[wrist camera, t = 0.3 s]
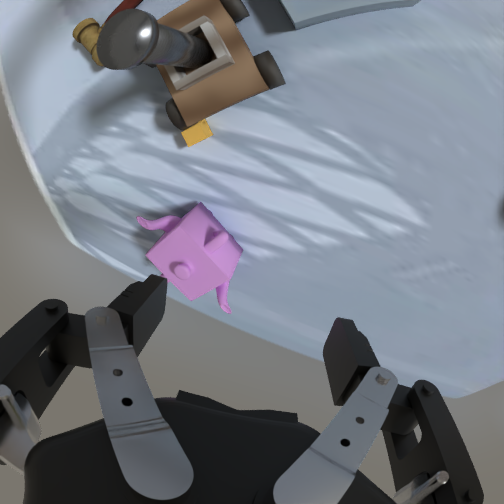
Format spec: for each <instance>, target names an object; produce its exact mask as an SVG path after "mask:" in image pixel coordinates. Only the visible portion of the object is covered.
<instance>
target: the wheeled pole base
mask: <svg viewBox="0 0 504 504" xmlns="http://www.w3.org/2000/svg"><path fill="white" fill-rule="evenodd" d="M248 16H250V15H249V13H248V11H247V9H246V7H245V6H244V4H243V3H242V1H241V0H189V1H188V2H186V3H184V4H182V5H181V6H179V7H177V8H176V9H174V10H173V11H171V12H169V13H168V14H166V15H165V16H163V17H162V18H160V19H159V20H157V22H158V23H159V24H162V25H165V26H168V27H171V28H174V29H177V30H180V31H182V32H185V33H187V34H190V35H193V36H195V37H198V38H200V39H202V40H205V41H207V42H209V43H210V45H211V47H212V49H213V52H214V53H213V58H212V60H211V61H210V63H208V64H206V65H204V66H202V67H200V68H199V69H192V68H185V67H177V66H168V65H158V64H146V65H148V66H150V67H156V66H157V67H158V69H159V71H160V73H161V75H162V77H163V79H164V81H165V83H166V85H167V87H168V89H169V91H170V93H171V95H172V97H173V98H172V99H171V100H169V101H167V103H166V112H167V114H168V117H169V119H170V120H171V122H172V123H173V124H174V125H175V126H176V127H177V128H178V129H180V130H186V129H187V128H189V127H191V126H193V125H195V124H197V123H198V122H199V121H201V120H203V119H205V118H207V117H209V116H211V115H213V114H215V113H217V112H219V111H221V110H223V109H226V108H228V107H230V106H232V105H234V104H236V103H239V102H241V101H243V100H245V99H248V98H250V97H252V96H255V95H257V94H259V93H262V92H264V91H267V90H269V89H270V90H271V89H273V88H276V87H278V86H281V85H284V84H285V81H284V78H283V76H282V74H281V72H280V69H279V67H278V66H277V64H276V62H275V60H274V58H273V56H272V55H271V53H270V52H269V50H268V51H265V52H263V53H261V54H258V55H256V56H252V54H251V52H250V50H249V48H248V46H247V44H246V42H245V41H244V39H243V37H242V35H241V33H240V32H239V30H238V28H237V26H236V25H235V23H234V21H235V22H236V21H238V20H241V19H243V18H245V17H248ZM233 20H234V21H233Z"/></svg>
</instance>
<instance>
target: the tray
mask: <svg viewBox="0 0 504 504" xmlns="http://www.w3.org/2000/svg"><path fill="white" fill-rule="evenodd" d="M419 1H421V0H279V2H280V3H281V5H282V7H283V8H284V10H285V11H286V13H287V15H288V17H289V18H290V20H291V22H292V24H293V25H294V27H295V29H296V30H299V29H302V28H305V27H308V26H311V25H315V24H318V23H322V22H325V21H329V20H333V19H337V18H341V17H346V16H350V15H355V14H360V13H365V12H371V11H377V10H384V9H392V8H400V7H411V6H414V5H415V4H417V3H418V2H419Z"/></svg>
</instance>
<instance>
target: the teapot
mask: <svg viewBox="0 0 504 504" xmlns="http://www.w3.org/2000/svg"><path fill="white" fill-rule="evenodd" d="M136 218H137V221H138V222H139V224H140V225H141V226H143V227H144V228H146V229H148V230H157V229H161V230H163V231H165V233H164V234H163V235H162V237H161V238H160V239H159V240H158V241H157V242H156V243H155V244H154V245H153V247H152V248H151V249H150V250H149V251H148V252H147V253H146V254H145V255H146V256H147V257H148V259H149V260H150V261H151V262H152V263H153V264H154V265H155V266H156V267H157V268H158V269H159V270H160V271H161V272H162V274H161V277H164V278H167V283H168V282H170V281H171V282H172V283H173V284H174V285H175V286H176V287H177V288H178V289H179V290H180V291H181V292H182V293H183V294H184V295H185V296H186V297H187V298H188V299H189V300H190V301H192V300H194V299H196V298H198V297H200V296H201V295H203V294H205V293H207V292H209V291H210V290H212V289H214V288H216V291H217V299H218V302H219V305H220V307H221V308H222V309H223V310H224V311H225V312H226V313H228V314H231V309H230V307H229V305H228V302H227V291H228V287H229V280H230V279H231V277H232V275H233V273H234V270H235V268H236V266H237V263H238V261H239V258H240V256H241V254H242V251H243V249H242V248H241V247H240V245H239V244H238V243H237V242H236V241H235V240H234V238H233V236H232V235H230V234H229V233H228V232H227V231H226V230H225V228H224V227H223V226H222V225H221V224H220V223H219V222H218V220H217V219H216V218H215V217H214V216H213V214H212V212H211V211H209V210H208V209H207V208H206V207H205V206H204V205H203V204H202V202H200V203H199V204H197V205H196V206H195V207H194V208H193V209H191V210H190V211H189V212H188V213H187V214H186V215H184V216H183V217H182V218H179V217H177V216H173V215H169V216H165V217H162V218H159V219H157V220H147V219H144V218H142V217H140V216H137V217H136Z"/></svg>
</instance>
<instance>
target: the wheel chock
mask: <svg viewBox="0 0 504 504" xmlns="http://www.w3.org/2000/svg"><path fill="white" fill-rule="evenodd" d="M181 133H182V135H183V137H184V139H185V141H186V143H187V145H188V147H190V146H192V145H194V144H196V143H198V142H200V141H202V140H204V139H206V138H208V137H210V136H212V135H213V134H212V132H211V130H210V128H209V126H208V124H207V122H206V120H205V119H203V120H201V121H199V122H198V123H197V124H195V125H193V126H191V127H189V128H187V129H186V130H185V131H183V132H181Z"/></svg>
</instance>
